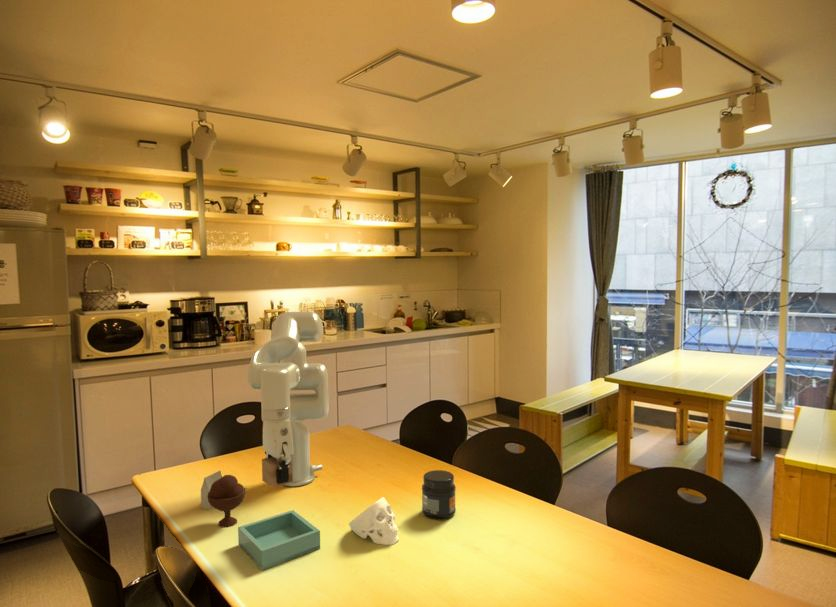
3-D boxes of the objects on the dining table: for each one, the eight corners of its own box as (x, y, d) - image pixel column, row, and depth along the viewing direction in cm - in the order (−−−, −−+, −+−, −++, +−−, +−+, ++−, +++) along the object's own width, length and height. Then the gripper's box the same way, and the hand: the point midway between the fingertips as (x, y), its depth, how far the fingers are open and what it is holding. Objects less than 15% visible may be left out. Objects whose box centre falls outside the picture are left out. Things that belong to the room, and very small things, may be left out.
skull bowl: (392, 548, 141) (371, 505, 143) (357, 563, 147) (338, 521, 150) (412, 530, 150) (392, 490, 152) (379, 545, 156) (360, 507, 159)
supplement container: (460, 509, 167) (460, 472, 166) (448, 523, 157) (448, 484, 156) (430, 503, 171) (429, 467, 170) (416, 517, 161) (416, 478, 161)
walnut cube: (283, 475, 148) (282, 454, 147) (292, 481, 143) (292, 459, 143) (262, 480, 144) (261, 459, 143) (271, 487, 139) (271, 465, 139)
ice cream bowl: (254, 517, 162) (252, 469, 161) (230, 534, 151) (228, 483, 151) (225, 512, 165) (224, 465, 165) (200, 528, 155) (198, 479, 154)
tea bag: (225, 501, 174) (224, 471, 173) (210, 509, 168) (209, 478, 167) (216, 499, 175) (215, 469, 175) (201, 507, 169) (200, 477, 169)
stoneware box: (293, 526, 156) (292, 510, 156) (320, 548, 143) (319, 530, 143) (238, 544, 146) (238, 527, 145) (262, 570, 133) (261, 551, 133)
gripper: (303, 417, 138) (304, 484, 139) (275, 405, 151) (277, 466, 152) (276, 422, 133) (277, 492, 134) (250, 409, 147) (251, 473, 148)
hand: (277, 478), depth 143 cm, fingers closed on walnut cube, 6 cm apart
